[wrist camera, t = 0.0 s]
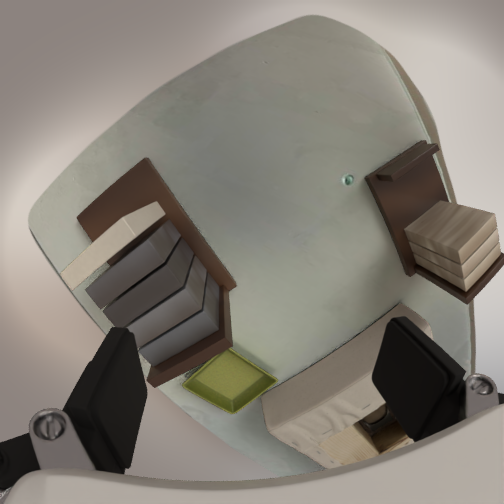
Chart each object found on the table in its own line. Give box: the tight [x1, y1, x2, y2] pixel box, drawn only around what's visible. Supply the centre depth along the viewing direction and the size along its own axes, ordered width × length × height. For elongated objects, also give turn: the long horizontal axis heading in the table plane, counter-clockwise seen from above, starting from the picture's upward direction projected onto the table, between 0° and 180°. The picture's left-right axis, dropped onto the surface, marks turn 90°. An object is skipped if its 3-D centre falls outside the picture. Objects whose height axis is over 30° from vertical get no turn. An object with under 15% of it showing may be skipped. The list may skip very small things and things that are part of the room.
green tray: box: [182, 348, 278, 414], centre depth 33 cm, size 9×9×2 cm
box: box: [261, 303, 434, 469], centre depth 35 cm, size 23×8×32 cm
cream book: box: [60, 201, 165, 291], centre depth 22 cm, size 2×7×10 cm, turn 123°
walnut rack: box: [77, 158, 237, 388], centre depth 23 cm, size 16×10×11 cm, turn 33°
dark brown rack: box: [365, 140, 504, 305], centre depth 25 cm, size 14×10×11 cm
